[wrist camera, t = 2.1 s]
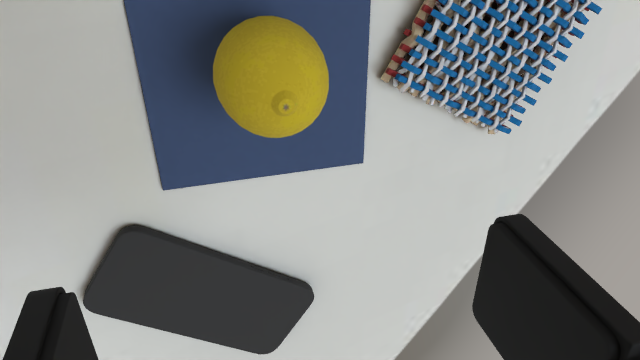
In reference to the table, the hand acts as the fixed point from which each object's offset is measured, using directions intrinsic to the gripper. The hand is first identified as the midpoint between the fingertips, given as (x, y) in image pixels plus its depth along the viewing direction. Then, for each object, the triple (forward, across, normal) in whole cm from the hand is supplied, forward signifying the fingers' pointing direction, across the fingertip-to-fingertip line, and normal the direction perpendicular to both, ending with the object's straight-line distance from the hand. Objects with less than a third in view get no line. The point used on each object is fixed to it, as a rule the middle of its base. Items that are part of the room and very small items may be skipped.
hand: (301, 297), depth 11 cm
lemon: (+19, -2, 0) cm, 19 cm away
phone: (+19, +3, +17) cm, 26 cm away
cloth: (+19, -2, -1) cm, 19 cm away
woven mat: (+20, -16, 0) cm, 25 cm away
